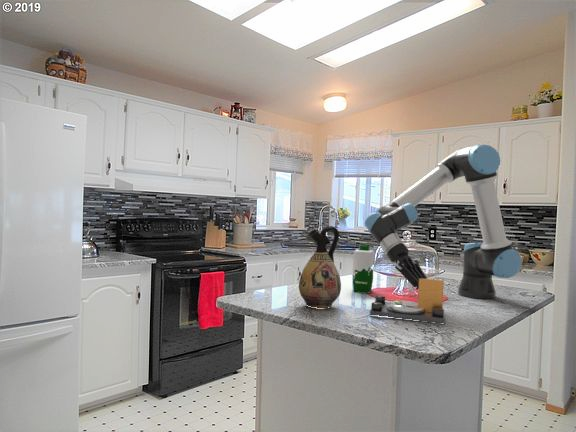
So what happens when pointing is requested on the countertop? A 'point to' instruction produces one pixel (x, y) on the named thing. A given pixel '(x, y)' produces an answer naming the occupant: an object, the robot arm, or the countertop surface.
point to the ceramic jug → (321, 272)
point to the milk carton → (363, 269)
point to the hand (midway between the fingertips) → (434, 301)
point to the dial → (421, 298)
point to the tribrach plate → (381, 309)
